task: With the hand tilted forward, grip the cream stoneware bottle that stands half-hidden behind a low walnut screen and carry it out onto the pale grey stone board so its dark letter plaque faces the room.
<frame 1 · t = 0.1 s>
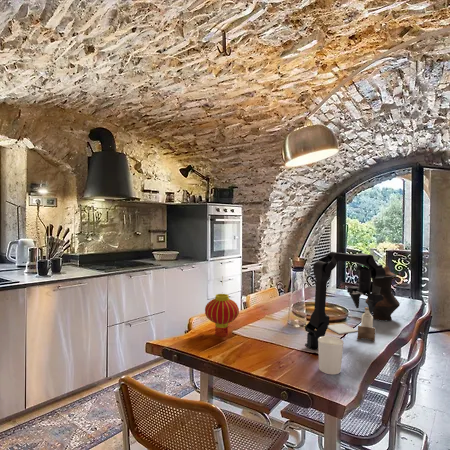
hand: (364, 310, 174), 15 cm above the table, tool pointing down, fingers open, 9 cm apart
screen: (366, 338, 176), on the table
white cylinder: (329, 370, 141), on the table
bottle: (366, 333, 183), on the table
lantern: (221, 334, 179), on the table
board: (341, 329, 190), on the table
jug: (382, 318, 210), on the table
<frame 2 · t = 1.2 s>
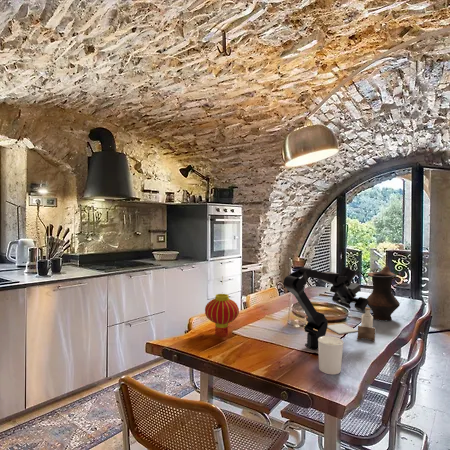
hand: (357, 310, 179), 13 cm above the table, tool tilted 45°, fingers open, 9 cm apart
nothing on the table moved.
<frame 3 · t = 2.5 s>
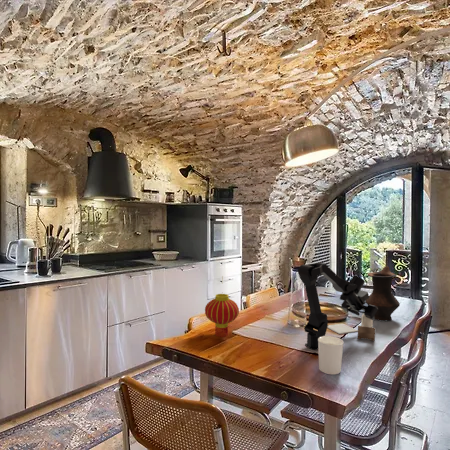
hand: (366, 317, 182), 9 cm above the table, tool tilted 45°, fingers open, 9 cm apart
nothing on the table moved.
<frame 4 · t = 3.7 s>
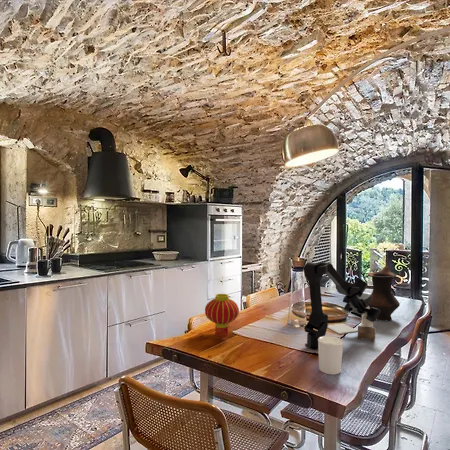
hand: (368, 320, 183), 7 cm above the table, tool tilted 45°, fingers closed on bottle, 5 cm apart
bottle: (366, 333, 183), on the table, touching gripper
everything else where it was.
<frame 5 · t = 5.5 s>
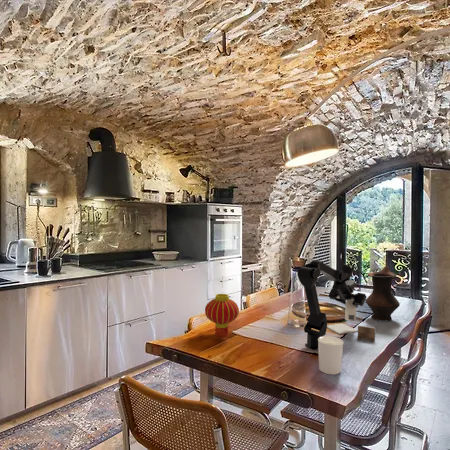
hand: (352, 305, 188), 13 cm above the table, tool tilted 45°, fingers closed on bottle, 5 cm apart
bottle: (350, 319, 187), point 6 cm above the table, touching gripper
everything else where it was.
when the fingers open (9 cm above the table, at t = 7.1 s): bottle stays where it is, resting on board.
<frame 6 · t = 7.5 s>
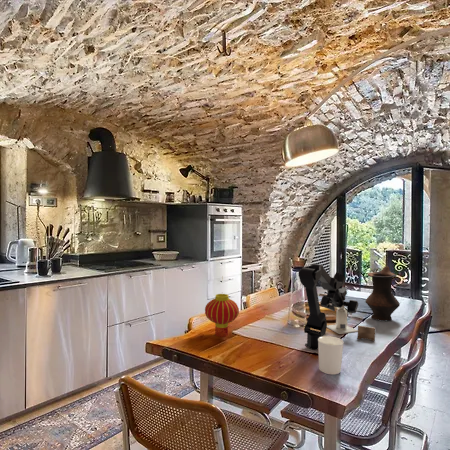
hand: (342, 312, 190), 9 cm above the table, tool tilted 45°, fingers open, 9 cm apart
bottle: (341, 328, 189), point 1 cm above the table, touching board
everything else where it was.
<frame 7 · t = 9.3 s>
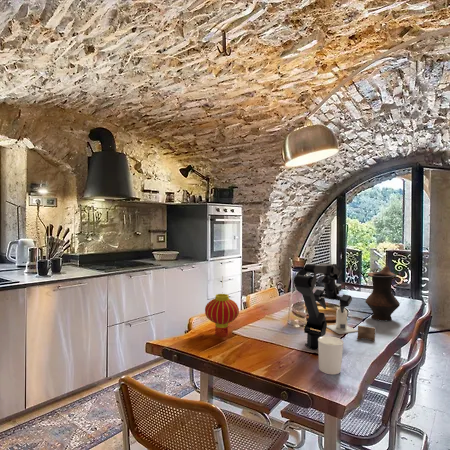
hand: (333, 310, 182), 12 cm above the table, tool tilted 25°, fingers open, 9 cm apart
nothing on the table moved.
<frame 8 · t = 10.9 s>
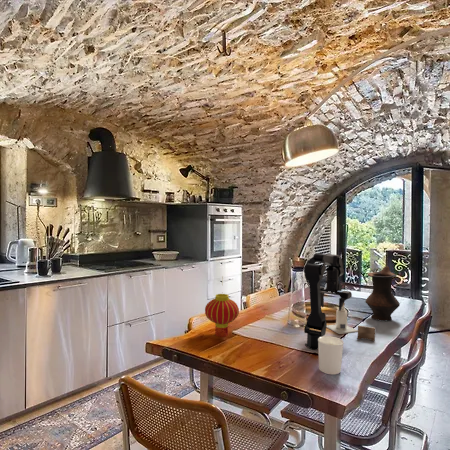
hand: (331, 308, 182), 13 cm above the table, tool pointing down, fingers open, 9 cm apart
nothing on the table moved.
at the end: bottle inside the target area on the board (0.1 cm from its centre), point 0.6 cm above the board's base; bottle tilted 0°; the gripper is holding nothing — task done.
